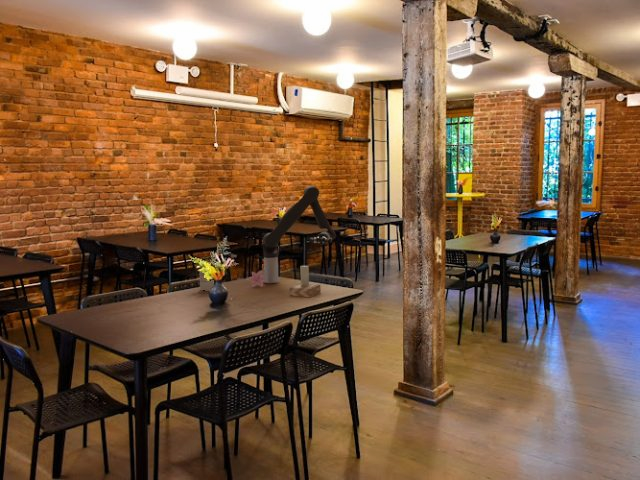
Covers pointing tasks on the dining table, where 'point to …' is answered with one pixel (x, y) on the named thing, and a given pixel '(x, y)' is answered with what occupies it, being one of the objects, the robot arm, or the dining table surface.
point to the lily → (257, 279)
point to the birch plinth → (305, 290)
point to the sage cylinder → (304, 276)
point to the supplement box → (205, 283)
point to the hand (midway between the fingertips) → (318, 241)
